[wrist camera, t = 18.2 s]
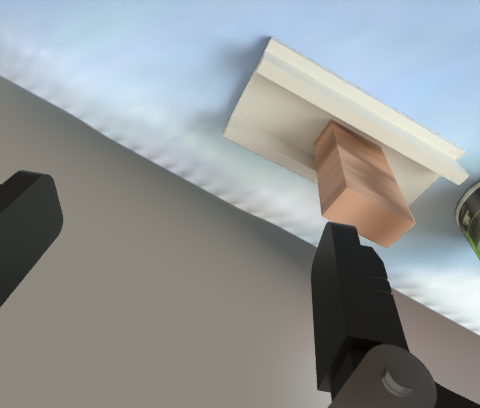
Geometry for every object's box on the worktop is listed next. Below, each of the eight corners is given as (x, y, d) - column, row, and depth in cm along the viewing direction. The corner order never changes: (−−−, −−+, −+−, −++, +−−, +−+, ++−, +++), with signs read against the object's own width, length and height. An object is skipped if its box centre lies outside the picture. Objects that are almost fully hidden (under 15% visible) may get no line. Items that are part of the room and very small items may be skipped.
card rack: (224, 127, 37) (218, 144, 33) (271, 36, 31) (269, 46, 28) (392, 214, 41) (401, 236, 37) (461, 147, 35) (478, 167, 32)
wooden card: (313, 143, 35) (321, 215, 26) (331, 119, 34) (347, 187, 24) (361, 169, 36) (386, 248, 27) (380, 147, 35) (415, 223, 25)
